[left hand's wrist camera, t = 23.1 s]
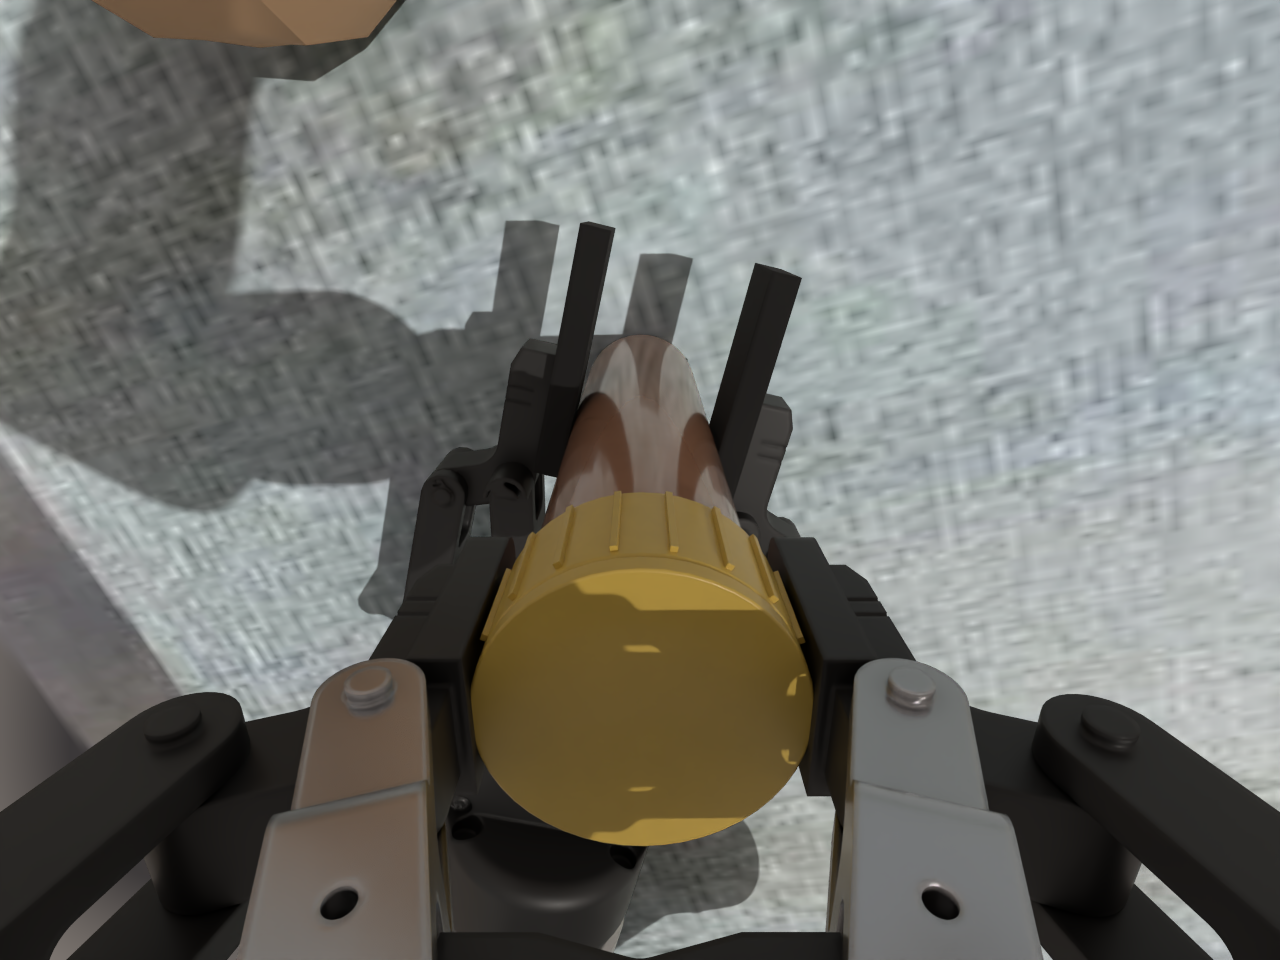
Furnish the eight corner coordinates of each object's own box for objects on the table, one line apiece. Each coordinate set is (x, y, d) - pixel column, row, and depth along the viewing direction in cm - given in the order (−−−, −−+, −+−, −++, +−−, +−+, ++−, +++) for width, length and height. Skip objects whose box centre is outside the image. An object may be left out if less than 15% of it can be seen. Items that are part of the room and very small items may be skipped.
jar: (588, 437, 26) (508, 791, 10) (586, 333, 25) (489, 557, 9) (691, 439, 26) (770, 794, 10) (696, 334, 25) (798, 562, 9)
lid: (725, 439, 10) (751, 507, 8) (821, 678, 12) (865, 793, 9) (447, 549, 11) (396, 641, 8) (574, 761, 12) (558, 887, 10)
